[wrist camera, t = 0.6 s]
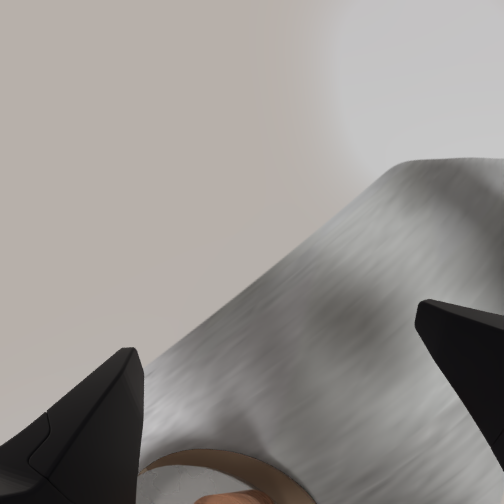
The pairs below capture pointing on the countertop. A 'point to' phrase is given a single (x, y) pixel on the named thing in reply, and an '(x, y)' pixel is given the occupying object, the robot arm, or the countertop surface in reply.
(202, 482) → the handwheel
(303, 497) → the wheel base
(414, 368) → the countertop surface
